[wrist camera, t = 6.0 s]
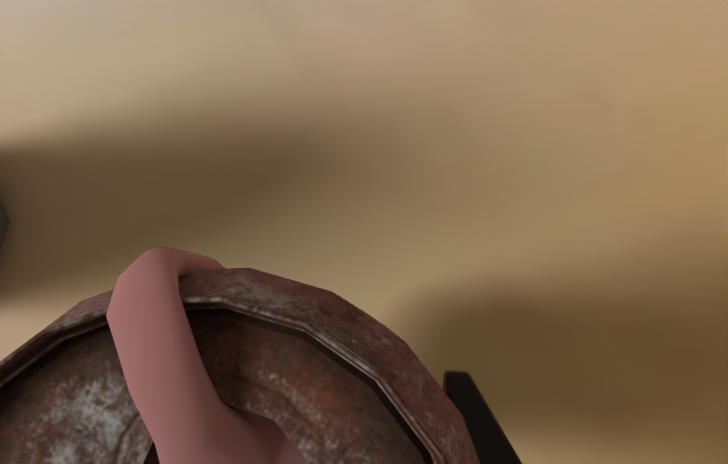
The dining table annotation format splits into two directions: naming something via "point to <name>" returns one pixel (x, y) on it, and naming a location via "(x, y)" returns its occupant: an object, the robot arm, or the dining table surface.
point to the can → (221, 378)
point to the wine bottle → (3, 223)
